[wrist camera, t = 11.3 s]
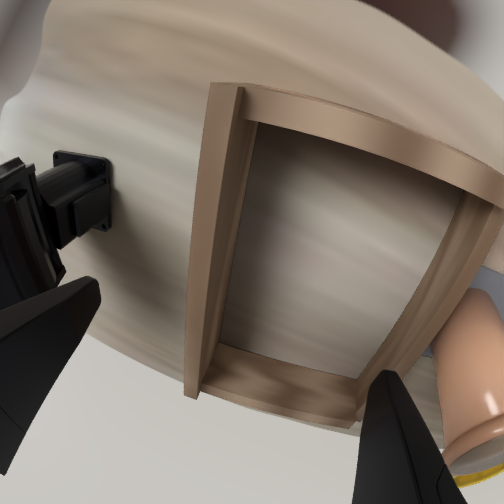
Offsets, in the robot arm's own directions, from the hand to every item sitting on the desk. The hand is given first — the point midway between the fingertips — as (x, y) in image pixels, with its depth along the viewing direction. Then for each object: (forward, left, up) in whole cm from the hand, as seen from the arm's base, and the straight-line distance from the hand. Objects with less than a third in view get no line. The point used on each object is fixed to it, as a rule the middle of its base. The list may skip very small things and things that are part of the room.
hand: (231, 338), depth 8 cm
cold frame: (+4, -6, -13) cm, 15 cm away
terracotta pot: (+17, -6, -13) cm, 22 cm away
